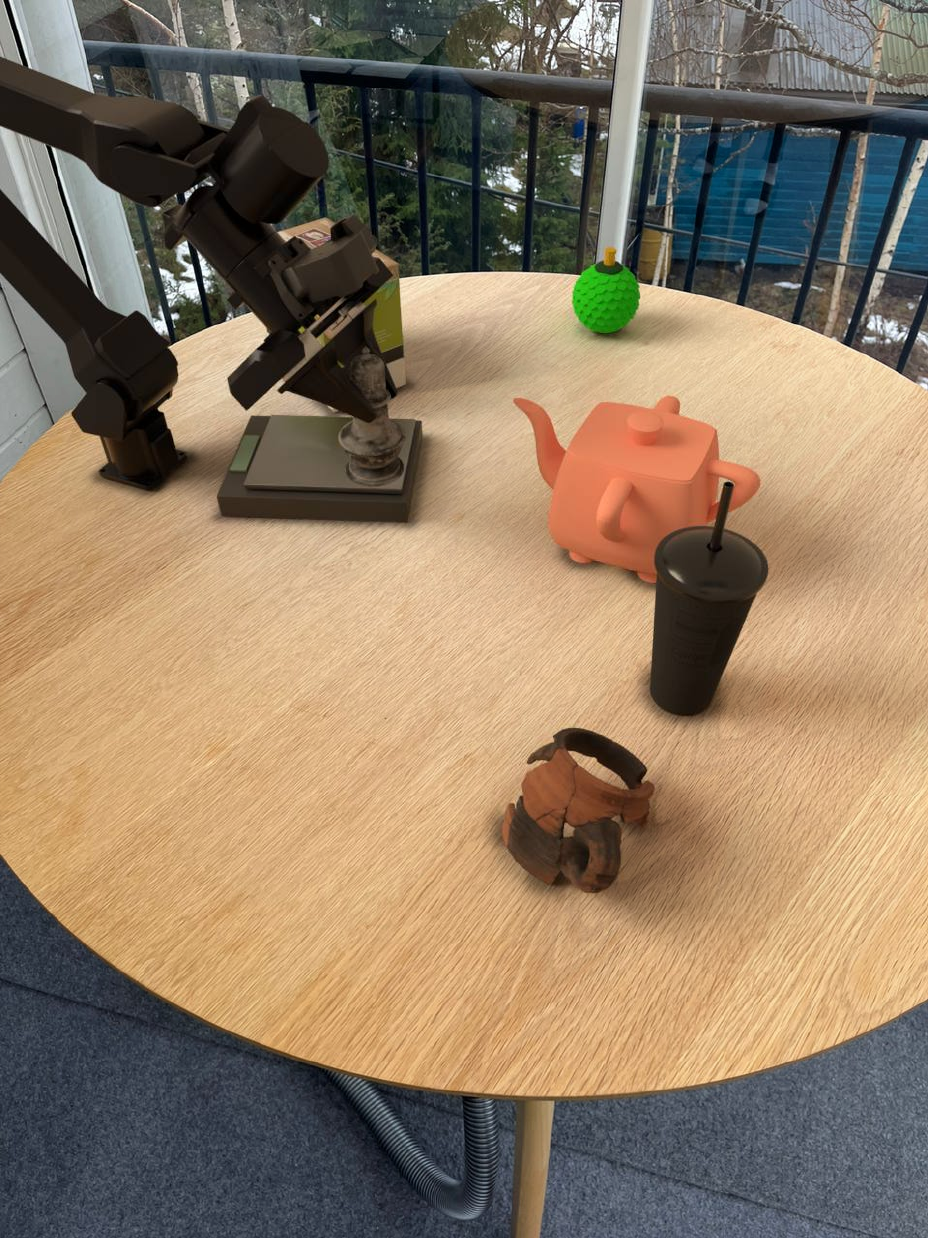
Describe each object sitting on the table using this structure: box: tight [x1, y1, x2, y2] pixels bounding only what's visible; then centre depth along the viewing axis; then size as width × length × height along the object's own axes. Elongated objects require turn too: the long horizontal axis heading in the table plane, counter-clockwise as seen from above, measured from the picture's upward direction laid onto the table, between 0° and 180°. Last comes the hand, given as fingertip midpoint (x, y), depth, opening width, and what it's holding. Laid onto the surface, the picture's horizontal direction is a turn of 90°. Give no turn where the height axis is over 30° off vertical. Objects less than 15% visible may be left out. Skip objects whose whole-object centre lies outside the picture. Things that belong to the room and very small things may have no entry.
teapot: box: [512, 395, 761, 584], centre depth 82 cm, size 17×16×13 cm
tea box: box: [265, 217, 407, 413], centre depth 104 cm, size 15×10×15 cm, turn 36°
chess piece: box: [338, 346, 406, 487], centre depth 80 cm, size 6×6×12 cm
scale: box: [216, 415, 424, 524], centre depth 94 cm, size 18×14×3 cm
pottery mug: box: [501, 727, 655, 894], centre depth 62 cm, size 12×10×8 cm
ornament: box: [571, 246, 641, 334], centre depth 112 cm, size 8×8×10 cm
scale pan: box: [244, 414, 417, 494], centre depth 92 cm, size 15×12×1 cm
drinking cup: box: [649, 481, 770, 717], centre depth 66 cm, size 8×8×20 cm
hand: (384, 408), depth 79 cm, fingers closed on chess piece, 3 cm apart
